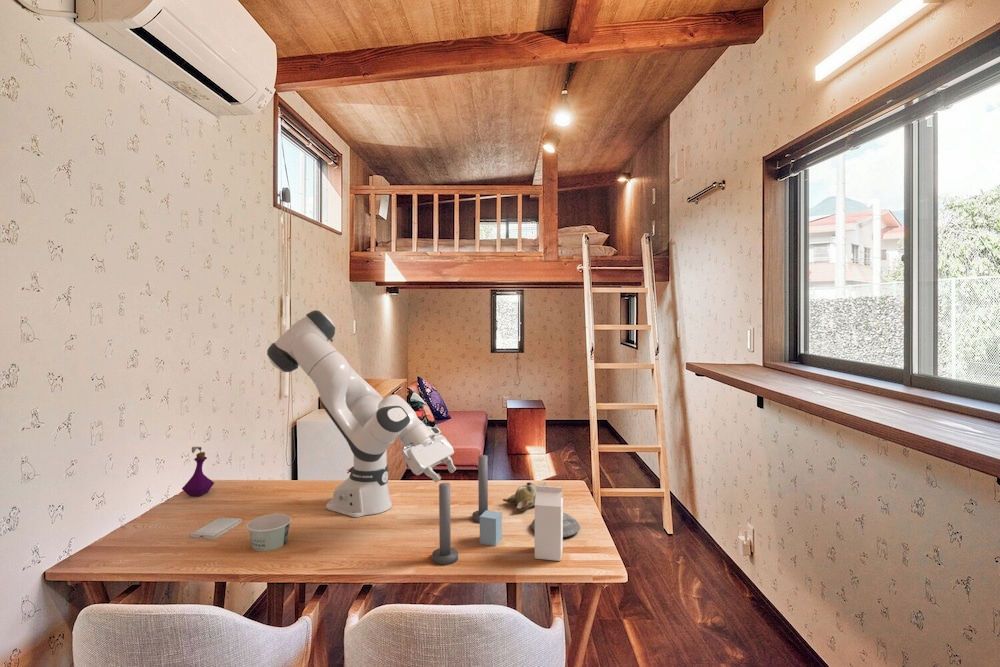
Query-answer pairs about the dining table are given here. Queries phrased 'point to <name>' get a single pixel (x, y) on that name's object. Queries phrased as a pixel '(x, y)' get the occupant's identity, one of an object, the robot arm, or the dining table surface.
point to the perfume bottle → (198, 478)
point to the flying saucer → (566, 525)
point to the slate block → (490, 528)
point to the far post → (482, 487)
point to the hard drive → (216, 528)
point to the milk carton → (548, 523)
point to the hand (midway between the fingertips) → (446, 475)
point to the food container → (269, 531)
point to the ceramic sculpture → (524, 496)
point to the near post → (444, 530)
